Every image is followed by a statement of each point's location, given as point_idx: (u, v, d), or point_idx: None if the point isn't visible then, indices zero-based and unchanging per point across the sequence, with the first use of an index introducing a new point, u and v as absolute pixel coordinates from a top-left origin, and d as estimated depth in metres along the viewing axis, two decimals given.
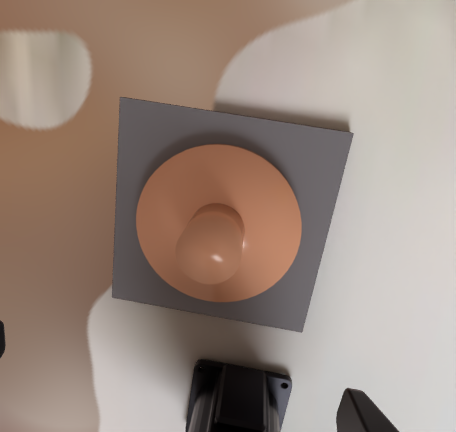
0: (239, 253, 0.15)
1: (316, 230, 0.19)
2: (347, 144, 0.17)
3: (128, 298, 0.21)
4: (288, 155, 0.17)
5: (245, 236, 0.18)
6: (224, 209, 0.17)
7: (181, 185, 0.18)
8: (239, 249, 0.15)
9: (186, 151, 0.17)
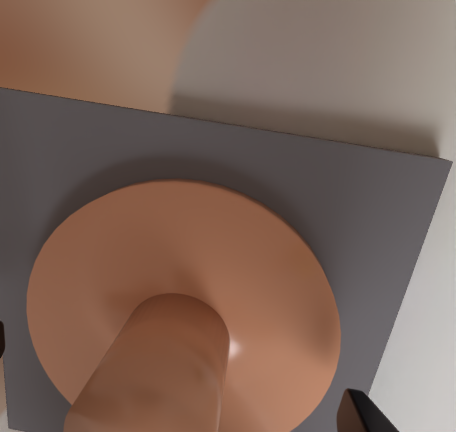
0: None
1: (365, 338, 0.10)
2: (438, 183, 0.08)
3: (36, 430, 0.12)
4: (316, 202, 0.09)
5: (231, 353, 0.10)
6: (186, 315, 0.08)
7: (106, 260, 0.09)
8: None
9: (111, 195, 0.09)
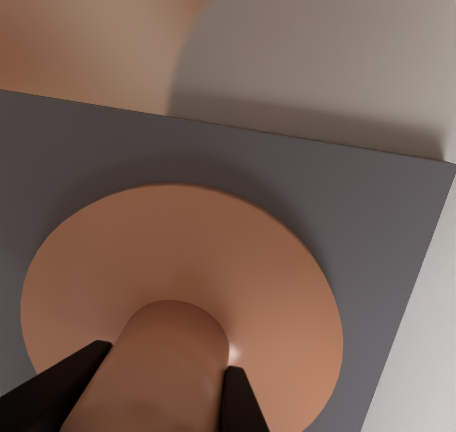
0: None
1: (367, 345, 0.10)
2: (443, 187, 0.08)
3: None
4: (317, 207, 0.09)
5: (231, 361, 0.09)
6: (184, 324, 0.08)
7: (101, 266, 0.09)
8: None
9: (106, 200, 0.08)
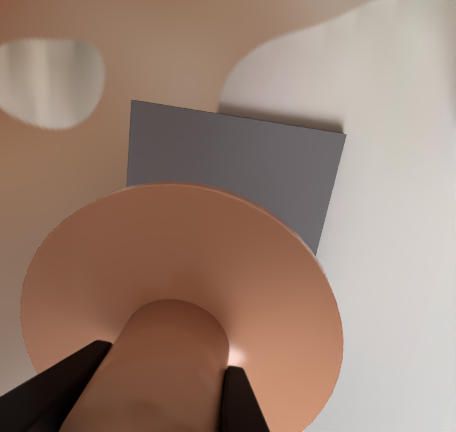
0: None
1: (312, 224, 0.20)
2: (340, 144, 0.18)
3: None
4: (286, 154, 0.19)
5: (231, 360, 0.09)
6: (183, 322, 0.08)
7: (101, 265, 0.09)
8: None
9: (106, 199, 0.08)
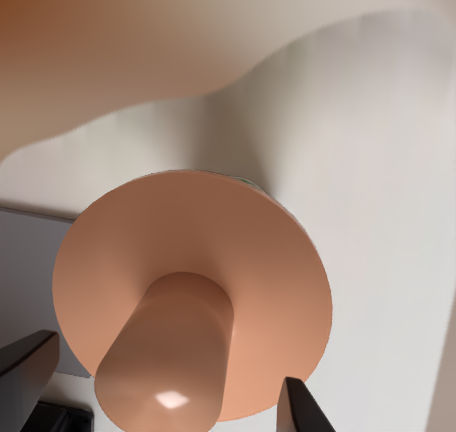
0: (219, 396, 0.08)
1: None
2: None
3: None
4: (47, 242, 0.22)
5: (235, 326, 0.11)
6: (196, 289, 0.09)
7: (124, 242, 0.10)
8: (218, 389, 0.08)
9: (129, 184, 0.10)
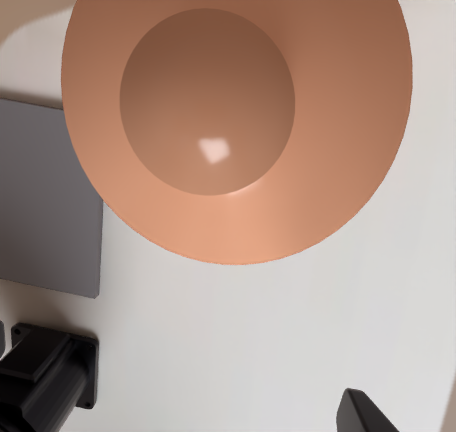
0: (290, 104, 0.06)
1: (88, 205, 0.21)
2: None
3: None
4: (52, 136, 0.20)
5: None
6: None
7: (152, 2, 0.08)
8: (291, 91, 0.05)
9: None
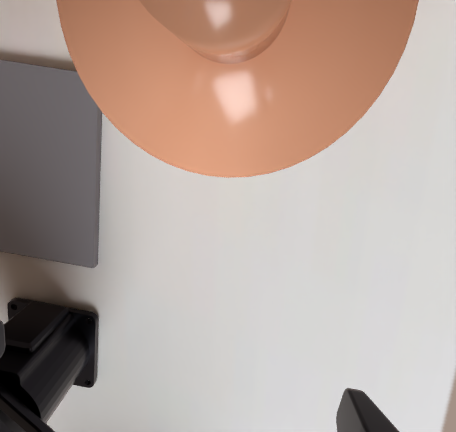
0: None
1: (85, 168, 0.20)
2: None
3: None
4: (47, 96, 0.19)
5: (292, 11, 0.08)
6: None
7: None
8: None
9: None
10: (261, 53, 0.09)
